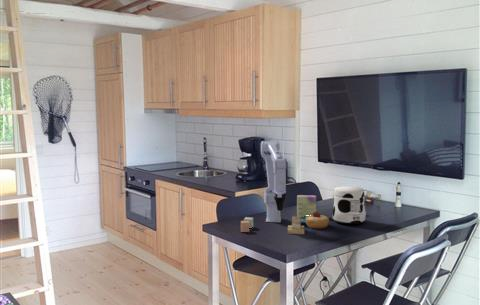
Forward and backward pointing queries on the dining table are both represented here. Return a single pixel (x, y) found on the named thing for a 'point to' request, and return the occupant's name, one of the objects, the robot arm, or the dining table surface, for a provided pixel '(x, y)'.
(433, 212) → the dining table surface
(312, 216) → the pastry
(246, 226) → the terracotta block
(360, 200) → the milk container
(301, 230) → the oak slab
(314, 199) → the box
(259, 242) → the dining table surface
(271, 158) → the robot arm
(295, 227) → the maple block
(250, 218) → the sage block
